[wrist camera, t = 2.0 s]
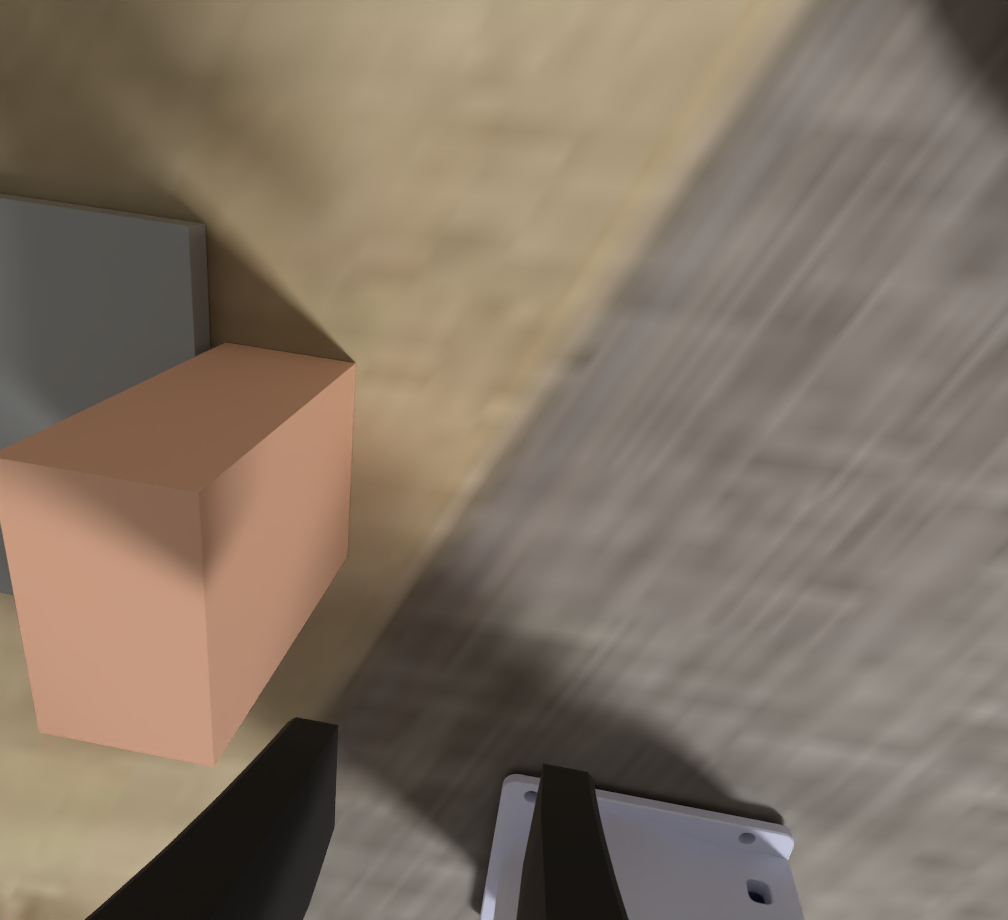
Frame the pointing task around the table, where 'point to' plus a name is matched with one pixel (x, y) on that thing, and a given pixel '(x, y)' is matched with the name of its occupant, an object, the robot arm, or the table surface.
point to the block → (178, 545)
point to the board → (91, 309)
